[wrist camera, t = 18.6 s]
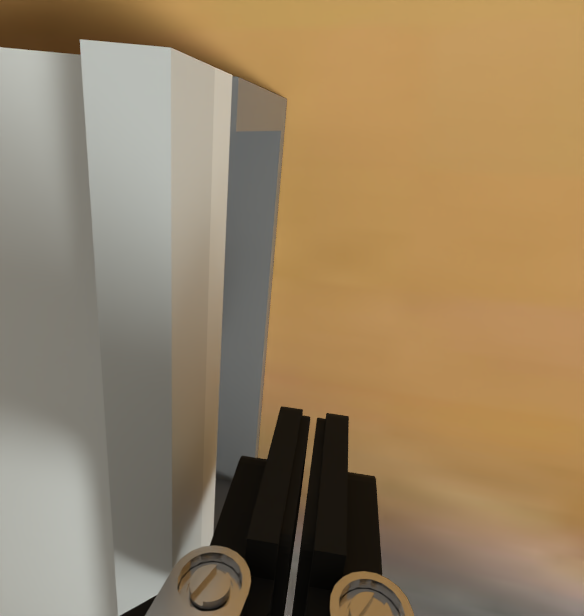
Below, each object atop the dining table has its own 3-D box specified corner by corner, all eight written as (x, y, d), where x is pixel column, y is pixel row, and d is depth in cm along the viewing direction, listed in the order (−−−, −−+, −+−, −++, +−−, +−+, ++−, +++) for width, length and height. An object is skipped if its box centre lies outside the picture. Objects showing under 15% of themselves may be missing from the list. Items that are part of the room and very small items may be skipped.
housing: (286, 99, 16) (238, 77, 9) (254, 489, 22) (212, 646, 15) (-119, 59, 17) (-427, 14, 10) (-40, 440, 23) (-198, 566, 16)
